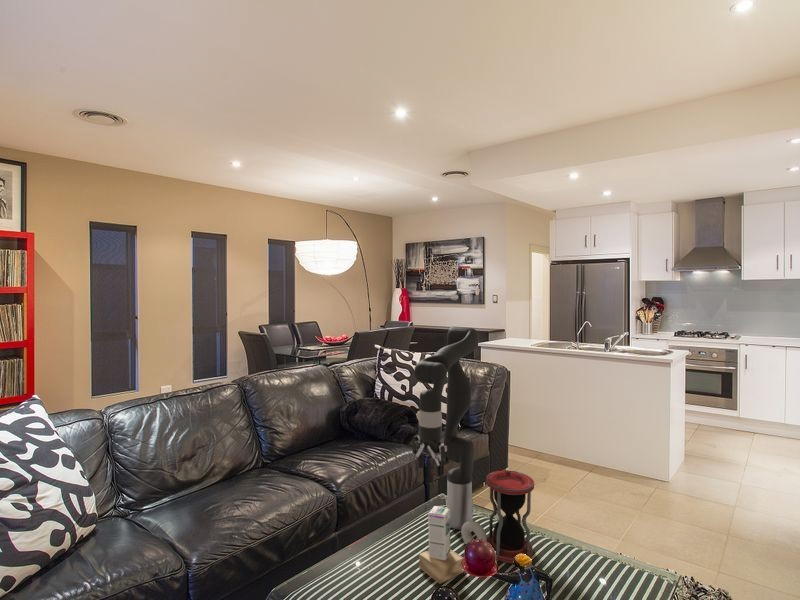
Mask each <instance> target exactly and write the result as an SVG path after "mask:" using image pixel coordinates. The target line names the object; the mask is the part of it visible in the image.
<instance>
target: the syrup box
mask: <svg viewBox="0 0 800 600" xmlns="http://www.w3.org/2000/svg"><path fill="white" fill-rule="evenodd" d="M427 514H428V519H427V520H428V521H427V522H428V525H427V526H428V550H429V557H431V558H435V559H439V560H444V561H445V560H446V559H447V557H448V555H449V553H450V552H451V550H452V549H451V527H450V509H449V508H447V506H440V505H434V506H433V507H432V508H431V509H430V510H429V512H428V513H427Z"/></svg>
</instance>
